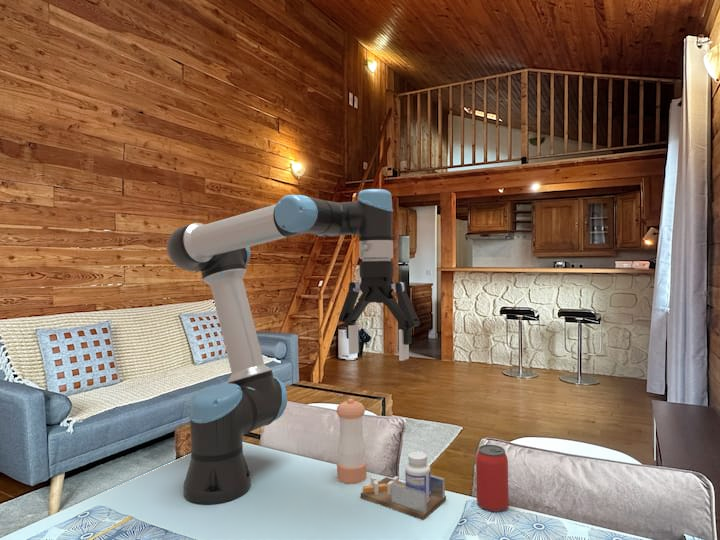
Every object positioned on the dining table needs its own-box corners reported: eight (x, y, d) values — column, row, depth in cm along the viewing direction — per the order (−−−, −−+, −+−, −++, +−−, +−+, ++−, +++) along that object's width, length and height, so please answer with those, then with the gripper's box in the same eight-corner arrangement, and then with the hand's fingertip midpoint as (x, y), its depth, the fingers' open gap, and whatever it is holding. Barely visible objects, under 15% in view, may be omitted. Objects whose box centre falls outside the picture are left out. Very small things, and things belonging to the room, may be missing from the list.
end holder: (391, 502, 102) (391, 484, 102) (413, 486, 109) (413, 469, 109) (424, 514, 97) (424, 494, 97) (444, 496, 104) (444, 478, 104)
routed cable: (360, 491, 107) (360, 481, 107) (378, 480, 113) (377, 470, 113) (388, 501, 103) (388, 490, 103) (405, 489, 108) (404, 478, 108)
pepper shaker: (341, 469, 121) (339, 394, 121) (369, 471, 120) (367, 395, 120) (333, 482, 114) (332, 402, 114) (363, 484, 113) (362, 404, 113)
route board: (360, 497, 107) (360, 493, 106) (385, 481, 114) (385, 477, 114) (423, 520, 97) (423, 515, 97) (446, 500, 105) (446, 495, 105)
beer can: (510, 514, 99) (509, 456, 98) (477, 511, 100) (476, 454, 100) (506, 498, 105) (506, 444, 105) (476, 496, 106) (475, 442, 106)
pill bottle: (416, 491, 107) (415, 448, 107) (436, 499, 103) (435, 454, 103) (400, 500, 103) (399, 455, 103) (420, 508, 99) (419, 462, 99)
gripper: (322, 261, 110) (324, 353, 110) (416, 259, 95) (418, 365, 95) (343, 261, 116) (345, 348, 116) (434, 259, 101) (436, 359, 101)
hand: (377, 356), depth 105 cm, fingers open, 13 cm apart
